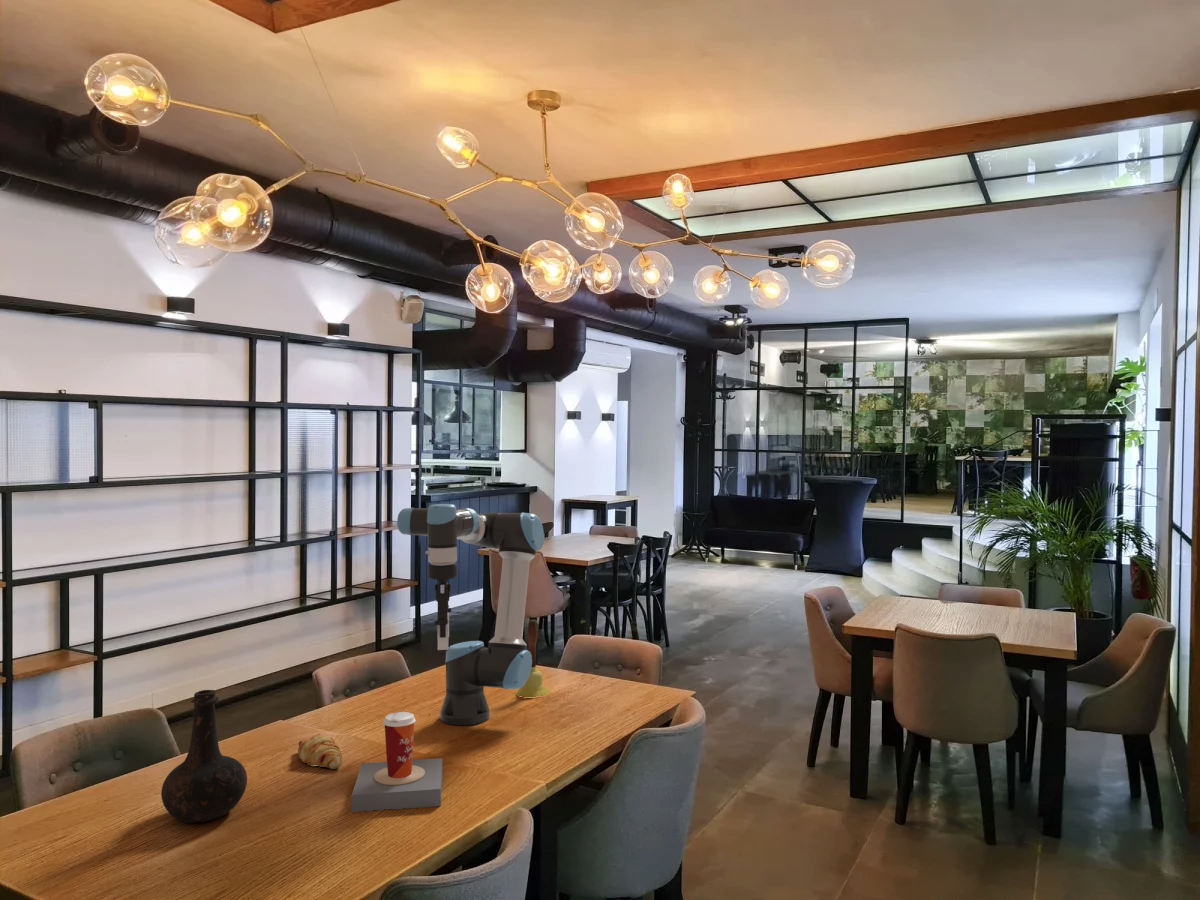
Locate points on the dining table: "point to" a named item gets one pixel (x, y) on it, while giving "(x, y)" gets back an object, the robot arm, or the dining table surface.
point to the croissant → (320, 752)
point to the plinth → (398, 787)
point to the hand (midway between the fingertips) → (443, 643)
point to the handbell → (533, 668)
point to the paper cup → (399, 743)
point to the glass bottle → (204, 771)
